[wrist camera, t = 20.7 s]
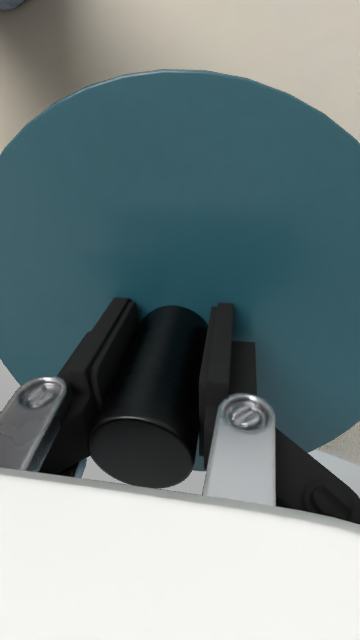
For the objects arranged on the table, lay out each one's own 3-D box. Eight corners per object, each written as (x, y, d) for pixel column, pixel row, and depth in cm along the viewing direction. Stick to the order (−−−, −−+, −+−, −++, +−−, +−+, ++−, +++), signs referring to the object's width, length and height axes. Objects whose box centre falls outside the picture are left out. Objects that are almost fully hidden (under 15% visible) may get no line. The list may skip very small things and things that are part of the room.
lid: (43, 432, 18) (-36, 560, 13) (-80, 85, 10) (-407, 67, 5) (348, 467, 16) (396, 640, 11) (497, 55, 8) (964, -35, 3)
